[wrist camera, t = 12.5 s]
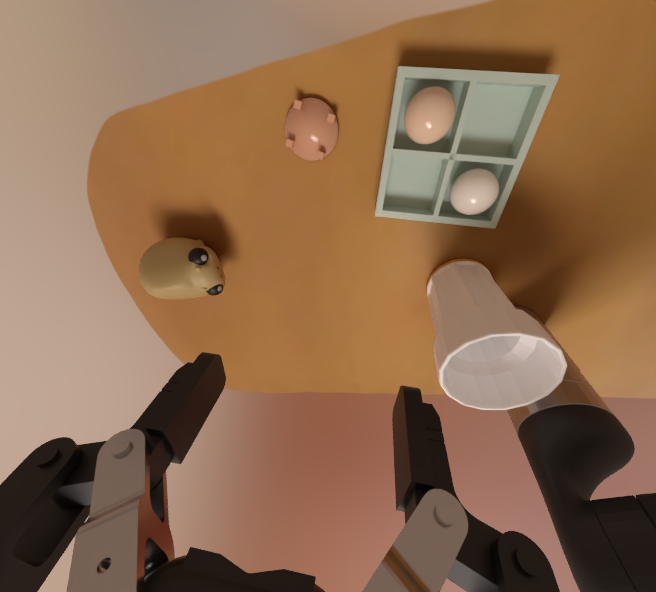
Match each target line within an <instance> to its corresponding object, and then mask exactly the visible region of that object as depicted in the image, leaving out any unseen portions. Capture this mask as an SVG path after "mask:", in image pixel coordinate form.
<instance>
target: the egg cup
mask: <svg viewBox="0 0 656 592" xmlns="http://www.w3.org/2000/svg"><path fill="white" fill-rule="evenodd" d="M285 133H286V138H287V140H286V145H285V146H287V147H290V148H291V149H292V150H293V151H294V152H295V153H296V154H297V155H298V156H300V157H301V158H303V159H306V160H312V161H314V160H319V159H320V160H324V157H325V156H327V155H328V154H329V153H330V152H331V151H332V149H333V148H334V146H335V144H336V142H337V138H338V122H337V119H336V115H335V114H334V112H333V110H332V109H331V108H330V106H329V105H328V104H326V103H325V102H324V101H322V100H320V99H316V98H305V99H302V100H300V101H299V100H297V99H295V101H294V105H293V106H292V108H291V109H290V111H289V113H288V115H287V118H286V123H285Z"/></svg>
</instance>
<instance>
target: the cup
mask: <svg viewBox="0 0 656 592" xmlns="http://www.w3.org/2000/svg"><path fill="white" fill-rule="evenodd" d="M426 290H427V297H428V302H429V307H430V312H431V317H432V322H433V327H434V332H435V336H436V339H435V341H434V356H435V362H436V367H437V373H438V378H439V384H440V385H441V387H442V388H443V389H444V391H445V392H446V394H447V395H448V396H449V397H451V398H452V399H454V400H456V401H458V402H459V403H461V404H463V405H465V406H469V407H473V408H478V409H482V410H507V409H512V408H516V407H521V406H525V405H529V404H531V403H533V402H535V401H537V400H539V399H541V398H544V397H546V396H548V395H549V394H550V393H551V392H552V391H553V390H554V389H555V388H556V387H557V386H558V385H559V384H560V383H561V382H562V380H563V377H564V374H565V371H566V368H567V362H566V360H565V357H564V355H563V352H562V350H561V348H560V347H559V346H558V345H557V344H556V342H555V341H554V340H553V339H552V338H551V336H550V335H549V334H548V333H547V332H546V331H545V329H544V328H543V327H542V326H541V325H540V324H539V322H538V321H537V320H535V319H534V318H533V317H531V316H530V315H529V314H527V313H526V312H525V311H523V310H520V309H516V308H515V307H514V306H513V304H512V303H511V302H510V300H509V299H508V298H507V297H506V295H505V294H504V293H503V291H502V290H501V289H500V288H499V286H498V285H497V284H496V282H495V281H494V280H493V278H492V275H491V273H490V272H489V270H488V269H487V268H486V267H485V266H484V265H483V264H482V263H480V262H479V261H476V260H472V259H466V258H465V259H455V260H450V261H448V262H446V263H444V264H442V265H440V266H439V267H438V268H437V269H436V270H434V271H433V272H432V273H431V275H430V277H429V279H428V282H427V287H426Z"/></svg>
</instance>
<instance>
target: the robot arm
mask: <svg viewBox="0 0 656 592" xmlns="http://www.w3.org/2000/svg"><path fill="white" fill-rule="evenodd" d="M514 307H515V308H516V309H520V310H523V311H525V312H526V313H527V314H529V315H530V316H531V317H533V318H534V319H535V320H537V321H538V322H539V324H540V325H541V326H542V327H543V328H544V329H545V331H546V332H547V333H548V334H549V335H550V336H551V338H552V339H553V340H554V341H555V342H556V344H557V345H558V346H559V347H560V348H561V350H562V352H563V355H564V357H565V360H566V362H567V368H566V371H565V374H564V377H563V380H562V382H561V383H560V384H559V385H558V386H557V387H556V388H555V389H554V390H553V391H552V392H551V393H550V394H549V395H548V396H546V397H544V398H541V399H539V400H537V401H535V402H533V403H531V404H529V405H525V406H521V407H516V408H512V409H507V412H508V414H509V416H510V418H511V421H512V423H513V426H514V428H515V430H516V432H517V435H518V437H519V439H520V442H521V444H522V446H523V448H524V451H525V453H526V456H527V458H528V461H529V463H530V466H531V468H532V470H533V473H534V475H535V478H536V480H537V482H538V485H539V487H540V490H541V492H542V495H543V497H544V500H545V503H546V505H547V508H548V511H549V513H550V516H551V518H552V521H553V524H554V527H555V530H556V532H557V535H558V538H559V540H560V543H561V546H562V549H563V551H564V554H565V556H566V559H567V561H568V564H569V566H570V569H571V572H572V574H573V577H574V579H575V581H576V583H577V586H578V588H579V590H580V592H656V493H652V494H640V495H636V498H635V497H634V496H633V495H632V496H624V497H615V498H607V499H598V500H592V501H590V497H591V495H592V493H593V492H594V490H595V489H596V487H597V486H598V485H599V484H600V483H601V482H602V481H603V480H604V479H606V478H607V477H609V476H610V475H612V474H613V473H615V472H617V471H618V470H619V469H621V468H622V467H624V466H625V465H626V464H627V463H628V462H629V461H630V460H631V458H632V456H633V454H634V443H633V441H632V438H631V437H630V435H629V433H628V432H627V431H626V429H625V428H624V427H623V426H622V424H621V423H620V422H619V420H618V419H617V418H616V417H615V415H614V414H613V413H612V412H611V410H610V409H609V408H608V406H607V405H606V404H605V402H604V401H603V400H602V399H601V397H600V396H599V395H598V394H597V392H596V391H595V390H594V389H593V387H592V386H591V385H590V384H589V382H588V381H587V380H586V378H585V377H584V376H583V375H582V373H581V372H580V369H579V368H578V367H577V365H576V364H575V363H574V362H573V360H572V359H571V358H570V357H569V355H568V354H567V353H566V351H565V350H564V349H563V348H562V346H561V345H560V344H559V343H558V341H557V340H556V339H555V337H554V336H553V335H552V334H551V332H550V331H549V330H548V329H547V327H546V326H545V325H544V324H543V323H542V322H541V321H540V320H539V318H538V317H537V316H536V315H535V313H534V312H532V311H531V310H529V309H527V308H524V307H519V306H514ZM225 381H226V376H225V372H224V367H223V363H222V359H221V356H220V355H217V354H211V353H205V352H203V353H201V354H200V355H199V356H198V357H197V359H196V360H195V361H194V363H189V362H188V363H187V364H185V365H184V366H183V367H181V368H180V369H178V370H177V371H176V372H175V374H174V375H173V376H172V377H171V378H170V380H169V382H168V383H167V384H166V385H165V386H164V387H163V389H162V391H161V392H159V394H158V395H157V396H156V397H155V399H154V400H153V401H152V402H151V404H150V405H149V406H148V408H147V409H146V410H145V411H144V413H143V414H142V415H141V416H140V418H139V419H138V420H137V421H136V423H135V424H134V425H133V426H132V427H131V428H130V429H128V430H124V431H121V432H119V433H117V434H115V435H114V436H112V437H111V438H110V439H109V440H108V441H103V442H96V443H90V444H83V445H77V444H76V443H75V442H74V441H73V440H72V439H70V438H65V437H62V438H57V439H53V440H51V441H49V442H46V443H45V444H43V445H41V446H40V447H38V448H37V449H35V450H34V451H33V452H32V453H31V454H30V455H29V456H28V457H27V458H26V459H25V460H24V461H23V462H22V463H21V464H20V465H19V466H18V467H17V468H16V469H15V470H14V471H13V472H12V473H11V474H10V475H9V476H8V478H7V479H6V480H5V481H4V482H3V483H2V484H1V485H0V592H37V591H38V590H39V589H40V587H41V586H42V584H43V582H44V581H45V580H46V578H47V577H48V575H49V574H50V572H51V570H52V569H53V568H54V566H55V565H56V563H57V562H58V560H59V559H60V557H61V556H62V554H63V553H64V551H65V550H66V548H67V547H68V545H69V544H70V542H71V541H72V539H73V538H74V536H75V535H76V538H75V544H74V550H73V556H72V562H71V568H70V574H69V581H68V587H67V592H325V591H324V590H323V589H321V588H320V587H319V586H317V585H316V584H315V577H314V576H310V575H306V574H302V573H298V572H293V571H289V570H285V569H282V570H275V571H266V572H259V573H246V572H245V571H243V570H242V569H240V568H239V567H238V566H236V565H234V564H233V563H232V562H230V561H229V560H228V559H226V558H225V557H224V556H222V555H221V554H217V553H213V552H209V551H205V550H201V549H197V548H192V547H190V549H189V551H188V554H187V555H186V556H182V557H178V558H175V556H174V545H173V539H172V535H171V532H170V528H169V520H168V519H169V518H168V499H167V480H166V470H167V468H168V466H169V465H170V463H171V462H173V463H178V464H181V463H182V461H183V460H184V458H185V456H186V454H187V452H188V451H189V449H190V447H191V445H192V443H193V442H194V440H195V438H196V437H197V435H198V433H199V431H200V429H201V428H202V426H203V424H204V422H205V421H206V419H207V417H208V415H209V413H210V412H211V410H212V408H213V407H214V405H215V403H216V401H217V399H218V398H219V396H220V394H221V392H222V391H223V389H224V386H225ZM393 444H394V467H395V488H396V510H398V511H404V512H405V526H404V528H403V529H402V531H401V532H400V534H399V535H398V537H397V539H396V540H395V542H394V543H393V545H392V547H391V548H390V550H389V551H388V553H387V554H386V556H385V557H384V559H383V560H382V562H381V564H380V565H379V567H378V568H377V569H376V571H375V573H374V574H373V576H372V577H371V579H370V580H369V582H368V584H367V585H366V587H365V588H364V590H363V591H362V592H440V590H441V588H442V586H443V584H444V582H445V580H446V578H448V579H449V580H451V581H452V582H453V583H455V584H457V585H458V586H459V587H461V588H462V589H464V590H465V591H467V592H560V591H559V588H558V585H557V582H556V579H555V576H554V573H553V570H552V568H551V565H550V563H549V561H548V559H547V558H546V556H545V554H544V553H543V552H542V550H541V549H540V548H539V547H538V546H537V545H536V544H535V543H534V542H533V541H532V540H531V539H530V538H528V537H527V536H525V535H523V534H521V533H518V532H515V531H508V532H505V533H504V534H502V533H500V532H499V531H497V530H495V529H494V528H492V527H490V526H488V525H486V524H485V523H483V522H481V521H480V520H478V519H477V518H475V517H474V516H472V515H471V514H470V513H469V512H468V511H467V510H466V509H465V508H464V507H463V505H462V504H461V503H460V501H459V499H458V498H457V496H456V493H455V491H454V487H453V482H452V477H451V472H450V467H449V462H448V458H447V452H446V447H445V444H444V437H443V433H442V427H441V422H440V417H439V415H438V414H437V412H436V410H435V409H434V407H433V405H432V404H427V403H422V396H421V391H420V389H419V388H413V387H407V386H401V387H400V390H399V393H398V396H397V399H396V402H395V405H394V409H393ZM88 516H89V518H88V520H87V521H86V522H85V520H86V519H87V517H88ZM84 522H85V523H84ZM76 533H77V534H76Z"/></svg>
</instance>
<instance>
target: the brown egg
mask: <svg viewBox="0 0 656 592" xmlns="http://www.w3.org/2000/svg"><path fill="white" fill-rule="evenodd" d="M455 113H456V106H455V101H454V99H453V96H452V95H451V93H450V92H449V91H448V90H446V89H445V88H442V87H439V86H431V87H427V88H424V89H422V90H421V91H419V92H418V93H417V94H415V95H414V96H413V98H412V99H411V100H410V102H409V103H408V106H407V108H406V111H405V114H404V127H405V130H406V133H407V135H408V136H409V137H410V139H411V140H413V141H414V142H416V143H419V144H431V143H434V142H436V141H438V140H440V139H441V138H442V137H444V136H445V135H446V133H447V132H448V131H449V130H450V128H451V126H452V124H453V122H454V119H455Z"/></svg>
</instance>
